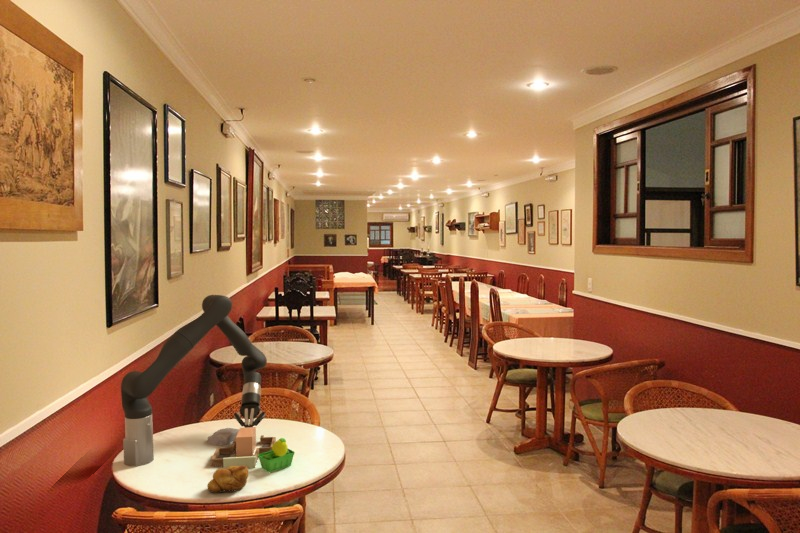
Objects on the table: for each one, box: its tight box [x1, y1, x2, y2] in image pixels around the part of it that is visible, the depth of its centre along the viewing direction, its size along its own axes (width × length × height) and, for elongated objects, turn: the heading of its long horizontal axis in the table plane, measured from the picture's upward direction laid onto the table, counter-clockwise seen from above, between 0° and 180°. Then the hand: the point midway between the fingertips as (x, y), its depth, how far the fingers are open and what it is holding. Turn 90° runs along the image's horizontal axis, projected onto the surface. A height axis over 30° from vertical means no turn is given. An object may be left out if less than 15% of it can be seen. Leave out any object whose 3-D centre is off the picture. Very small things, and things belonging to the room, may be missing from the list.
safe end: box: [222, 455, 256, 469], centre depth 204 cm, size 1×11×4 cm, turn 97°
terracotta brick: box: [235, 426, 257, 457], centre depth 220 cm, size 11×6×8 cm, turn 8°
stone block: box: [207, 427, 240, 446], centre depth 233 cm, size 12×5×10 cm
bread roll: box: [207, 466, 249, 494], centre depth 188 cm, size 13×10×8 cm
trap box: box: [210, 434, 277, 468], centre depth 217 cm, size 26×21×2 cm
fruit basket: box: [258, 437, 295, 473], centre depth 204 cm, size 11×9×11 cm
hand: (248, 435), depth 226 cm, fingers closed
